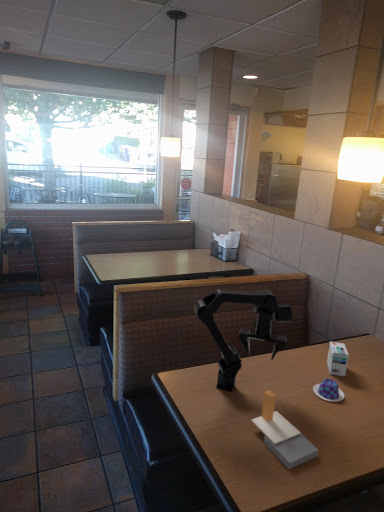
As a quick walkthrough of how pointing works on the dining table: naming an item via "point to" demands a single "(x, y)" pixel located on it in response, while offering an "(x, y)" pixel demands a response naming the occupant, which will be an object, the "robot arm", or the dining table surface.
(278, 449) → the gray carton
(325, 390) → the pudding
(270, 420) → the lid
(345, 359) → the light bulb box
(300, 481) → the dining table surface
